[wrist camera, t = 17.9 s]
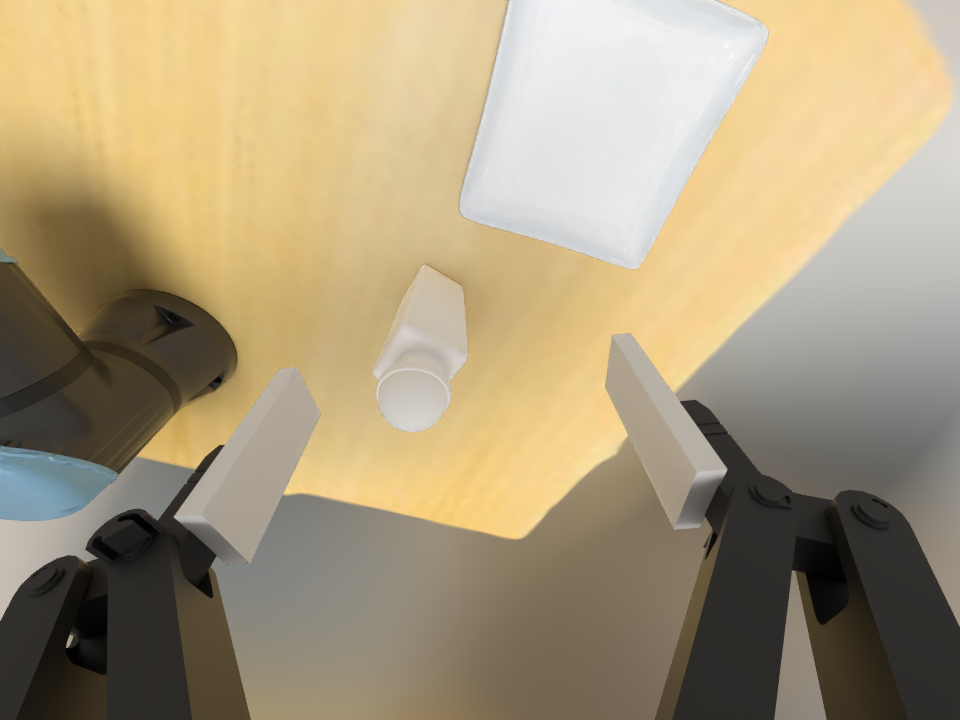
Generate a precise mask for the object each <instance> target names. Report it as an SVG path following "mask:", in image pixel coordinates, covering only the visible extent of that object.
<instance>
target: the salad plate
mask: <svg viewBox="0 0 960 720" xmlns="http://www.w3.org/2000/svg"><path fill="white" fill-rule="evenodd" d="M768 36H769V30H768V28H767V27H766V26H765V25H764V24H763V23H762V22H760V21H759V20H757V19H756V18H754V17H752V16H750V15H748V14H746V13H745V12H742V11H740V10H738V9H736V8H734V7H731V6H729V5H727V4H725V3H722V2H720V1H717V0H509V1H508V5H507V10H506V14H505V18H504V23H503V27H502V32H501V37H500V41H499V45H498V50H497V54H496V58H495V63H494V67H493V71H492V76H491V80H490V85H489V89H488V93H487V97H486V101H485V105H484V109H483V113H482V117H481V120H480V124H479V128H478V132H477V135H476V139H475V143H474V147H473V150H472V154H471V157H470V161H469V164H468V168H467V171H466V175H465V178H464V182H463V186H462V190H461V195H460V201H459V211H460V214H461V215H462V216H463V217H464V218H465V219H467V220H470V221H473V222H475V223H479V224H482V225H485V226H489V227H493V228H496V229H500V230H504V231H507V232H511V233H515V234H519V235H522V236H526V237H530V238H533V239H537V240H541V241H544V242H547V243H550V244H554V245H557V246H560V247H563V248H566V249H569V250H572V251H576V252H579V253H582V254H585V255H587V256H590V257H593V258H596V259H599V260H602V261H605V262H608V263H611V264H614V265H617V266H620V267H624V268H628V269H636V268H638V267H639V266H640V265H641V264H642V262H643V261H644V259H645V257H646V256H647V254H648V252H649V250H650V249H651V247H652V245H653V243H654V242H655V240H656V238H657V236H658V234H659V232H660V230H661V229H662V227H663V225H664V223H665V221H666V220H667V218H668V216H669V214H670V212H671V210H672V208H673V207H674V205H675V203H676V201H677V199H678V198H679V196H680V194H681V192H682V190H683V188H684V187H685V185H686V183H687V181H688V179H689V178H690V176H691V174H692V172H693V171H694V169H695V167H696V165H697V163H698V162H699V160H700V158H701V156H702V154H703V153H704V151H705V149H706V147H707V146H708V144H709V142H710V140H711V139H712V137H713V135H714V133H715V132H716V130H717V128H718V127H719V125H720V124H721V122H722V120H723V118H724V117H725V115H726V113H727V112H728V110H729V108H730V107H731V105H732V103H733V102H734V100H735V98H736V97H737V95H738V93H739V91H740V90H741V88H742V86H743V85H744V83H745V81H746V80H747V78H748V76H749V74H750V72H751V71H752V69H753V67H754V65H755V63H756V62H757V60H758V58H759V56H760V54H761V52H762V50H763V49H764V47H765V44H766V42H767V39H768Z"/></svg>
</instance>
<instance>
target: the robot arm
mask: <svg viewBox="0 0 960 720" xmlns="http://www.w3.org/2000/svg"><path fill="white" fill-rule="evenodd" d="M16 263H18V261H17V260H16V259H15V258H14V257H12V256H9V255H7V254H6V253H5V252H4V250H3V249H2V248H1V247H0V519H7V520H19V521H42V520H50V519H57V518H61V517H65V516H68V515H71V514H73V513H75V512H77V511H79V510H81V509H82V508H84V507H85V506H86V505H87V504H89V503H90V502H91V501H92V500H93V499H94V498H95V497H96V496H97V495H98V494H99V493H100V492H102V490H104V489H105V488H106V487H107V486H108V485H109V484H111V483H112V482H114V481H115V480H116V479H117V477H118V475H119V474H120V473H121V472H122V471H123V470H124V468H125V467H126V466H127V465H128V464H129V463H130V462H131V461H132V460H133V459H134V457H136V455H137V454H138V453H139V452H140V451H141V450H142V449H143V448H144V447H145V446H146V445H147V444H148V442H149V441H150V440H151V439H152V438H153V437H154V436H155V435H156V434H157V433H158V432H159V431H160V430H161V429H162V428H163V426H164V425H165V424H166V423H167V422H168V421H169V420H170V419H171V418H172V417H173V416H174V415H175V414H176V413H177V412H178V411H179V410H180V409H181V408H183V407H185V406H187V405H189V404H191V403H193V402H195V401H197V400H199V399H200V398H202V397H204V396H206V395H208V394H210V393H212V392H214V391H215V390H217V389H218V388H220V387H221V386H222V385H223V384H224V383H225V381H226V380H227V379H228V378H229V377H230V376H231V375H232V373H233V372H234V369H235V367H236V351H235V348H234V345H233V343H232V341H231V339H230V337H229V336H228V334H227V333H226V332H225V330H224V329H223V328H222V327H221V326H220V324H219V323H218V322H217V321H216V320H214V319H213V318H212V317H211V316H210V315H209V314H207V313H206V312H205V311H203V310H202V309H200V308H199V307H197V306H195V305H194V304H192V303H190V302H188V301H186V300H184V299H181V298H179V297H176V296H174V295H171V294H167V293H163V292H158V291H152V290H135V291H130V292H126V293H123V294H121V295H119V296H117V297H115V298H114V299H112V300H110V301H108V302H106V303H105V304H103V305H102V306H101V307H100V308H99V309H98V310H97V311H96V312H95V314H94V315H93V317H92V318H91V319H90V321H89V322H88V323H87V325H86V326H85V328H84V329H83V331H82V332H81V333H80V335H79V336H77V335H76V334H75V333H74V332H73V330H72V329H71V328H70V327H69V326H68V324H67V323H66V322H65V321H64V320H63V319H62V317H61V316H60V315H59V314H58V313H57V311H56V310H55V309H54V308H53V307H52V305H51V304H50V303H49V302H48V301H47V299H46V298H45V297H44V296H43V295H42V293H41V292H40V291H39V290H38V289H37V288H36V286H35V285H34V284H33V283H32V282H31V280H30V279H29V278H28V277H27V276H26V274H25V273H24V272H23V271H22V270H21V268H20V267H19V266H18V265H17V264H16ZM605 388H606V390H607V392H608V394H609V396H610V398H611V400H612V402H613V404H614V406H615V408H616V411H617V413H618V415H619V417H620V419H621V421H622V423H623V425H624V427H625V429H626V431H627V433H628V435H629V437H630V439H631V442H632V444H633V446H634V448H635V450H636V452H637V454H638V456H639V458H640V460H641V462H642V464H643V466H644V468H645V470H646V472H647V474H648V477H649V479H650V481H651V483H652V485H653V487H654V489H655V491H656V493H657V495H658V497H659V499H660V502H661V504H662V506H663V508H664V510H665V512H666V514H667V516H668V518H669V520H670V522H671V524H672V526H673V528H674V529H685V528H696V527H700V526H701V524H702V522H703V520H704V518H705V516H706V518H707V520H708V522H709V523H710V525H711V527H712V532H711V533H710V535H709V537H708V539H707V541H706V543H705V545H704V548H706V550H705V553H704V556H703V560H702V563H701V566H700V570H699V573H698V576H697V580H696V583H695V587H694V590H693V593H692V597H691V600H690V603H689V607H688V610H687V613H686V617H685V620H684V623H683V627H682V630H681V633H680V637H679V640H678V643H677V647H676V650H675V654H674V657H673V660H672V664H671V667H670V670H669V674H668V677H667V680H666V683H665V687H664V690H663V694H662V697H661V700H660V704H659V707H658V711H657V714H656V717H655V720H774V716H775V708H776V700H777V691H778V683H779V674H780V666H781V658H782V648H783V640H784V633H785V624H786V616H787V607H788V599H789V590H790V582H791V573H792V570H794V571H796V575H797V580H798V585H799V590H800V594H801V599H802V604H803V609H804V614H805V618H806V623H807V628H808V632H809V637H810V642H811V647H812V652H813V656H814V661H815V666H816V670H817V675H818V680H819V685H820V690H821V694H822V699H823V704H824V708H825V713H826V718H827V720H960V627H959V625H958V623H957V620H956V618H955V616H954V614H953V612H952V610H951V608H950V606H949V604H948V602H947V600H946V598H945V596H944V594H943V592H942V590H941V588H940V586H939V584H938V581H937V579H936V577H935V575H934V573H933V571H932V569H931V567H930V565H929V563H928V561H927V559H926V557H925V555H924V553H923V551H922V548H921V546H920V544H919V542H918V540H917V538H916V536H915V534H914V532H913V530H912V528H911V526H910V524H909V523H908V521H907V520H906V519H905V517H904V516H903V514H902V513H900V512H899V511H898V510H897V509H896V508H895V507H893V506H892V505H891V504H889V503H887V502H886V501H884V500H882V499H880V498H878V497H877V496H874V495H871V494H868V493H865V492H862V491H855V490H847V491H842V492H840V493H839V494H838V495H837V496H836V497H835V499H834V500H828V499H823V498H817V497H812V496H806V495H801V494H797V493H793V492H792V491H791V490H790V489H789V488H787V487H786V486H785V485H784V484H783V483H781V482H779V481H777V480H775V479H773V478H771V477H769V476H765V475H762V474H761V473H760V472H759V471H758V470H757V469H756V467H755V466H754V465H753V464H752V462H751V461H750V460H749V459H748V457H747V456H746V455H745V453H744V452H743V451H742V450H741V448H740V447H739V446H738V445H737V443H736V442H735V441H734V440H733V438H732V437H731V436H730V435H728V433H727V431H726V429H725V428H724V427H723V426H722V425H721V424H720V422H719V421H718V419H717V418H716V417H715V416H714V414H713V413H712V412H711V410H709V409H708V408H707V407H705V406H704V405H702V404H701V403H699V402H698V401H696V400H690V401H679V400H678V399H677V397H676V396H675V395H674V393H673V392H672V390H671V389H670V387H669V386H668V385H667V383H666V382H665V380H664V379H663V378H662V376H661V375H660V373H659V372H658V371H657V369H656V368H655V366H654V365H653V364H652V362H651V361H650V359H649V358H648V357H647V355H646V354H645V352H644V351H643V349H642V348H641V347H640V345H639V344H638V342H637V341H636V340H635V338H634V337H633V335H632V334H631V333H628V334H618V335H612V338H611V346H610V353H609V361H608V368H607V376H606V384H605ZM320 415H321V414H320V412H319V410H318V408H317V406H316V404H315V402H314V400H313V398H312V396H311V394H310V392H309V390H308V388H307V386H306V384H305V382H304V380H303V378H302V376H301V374H300V372H299V370H298V368H297V367H293V368H283V369H279V370H278V371H277V373H276V374H275V376H274V377H273V378H272V380H271V381H270V383H269V384H268V385H267V387H266V388H265V390H264V391H263V392H262V394H261V395H260V397H259V398H258V399H257V401H256V402H255V404H254V405H253V406H252V408H251V409H250V411H249V412H248V413H247V415H246V416H245V418H244V419H243V420H242V422H241V423H240V425H239V426H238V427H237V429H236V430H235V432H234V433H233V434H232V436H231V437H230V439H229V440H228V441H227V443H226V444H225V445H219V446H218V447H217V448H215V449H214V450H213V451H212V452H211V453H210V454H208V455H207V456H206V457H205V458H204V459H203V461H202V462H201V463H200V465H199V466H198V467H197V469H196V470H195V473H193V474H192V475H191V477H190V478H189V479H188V481H187V484H185V485H184V486H183V488H182V489H181V490H180V492H179V493H178V494H177V496H176V497H175V498H174V500H173V501H172V502H171V504H170V505H169V506H168V508H167V509H166V511H165V512H164V513H163V514H162V516H161V517H160V518H159V520H158V521H157V520H156V519H154V518H153V517H152V516H151V515H150V514H149V513H147V512H146V511H145V510H142V509H133V510H128V511H126V512H124V513H121V514H119V515H117V516H115V517H114V518H112V519H111V520H109V521H107V522H106V523H105V524H104V525H103V526H101V527H100V528H99V529H98V530H97V531H96V532H95V533H94V534H93V536H92V537H91V538H90V539H89V541H88V543H87V546H86V549H85V550H87V551H88V552H90V553H91V554H93V555H94V556H96V557H97V558H98V559H95V560H92V561H90V562H87V563H86V562H84V561H83V560H81V559H79V558H78V557H76V556H69V555H67V556H64V557H61V558H57V559H56V560H54V561H52V562H50V563H48V564H46V565H44V566H43V567H41V568H40V569H39V570H37V571H36V572H34V573H33V574H32V575H31V576H30V577H29V578H28V579H27V580H26V581H25V582H24V583H23V584H22V585H21V586H20V587H19V589H18V590H17V592H16V593H15V595H14V596H13V598H12V600H11V602H10V604H9V606H8V608H7V609H6V611H5V613H4V615H3V617H2V619H1V621H0V720H251V719H250V715H249V711H248V707H247V702H246V698H245V694H244V690H243V686H242V682H241V677H240V673H239V669H238V665H237V661H236V657H235V653H234V649H233V645H232V640H231V636H230V632H229V628H228V623H227V619H226V615H225V611H224V607H223V603H222V599H221V594H220V590H219V586H218V582H217V578H216V574H215V572H214V570H213V569H212V568H211V567H210V566H211V565H212V563H213V561H214V559H215V557H216V556H217V557H218V558H219V559H220V560H221V561H222V562H223V563H225V564H226V565H235V564H247V563H250V562H251V560H252V558H253V556H254V553H255V552H256V549H257V547H258V545H259V543H260V541H261V539H262V537H263V535H264V533H265V530H266V528H267V526H268V524H269V522H270V520H271V518H272V516H273V513H274V512H275V509H276V507H277V505H278V503H279V501H280V499H281V497H282V495H283V493H284V491H285V488H286V486H287V484H288V482H289V480H290V478H291V476H292V474H293V472H294V470H295V467H296V465H297V463H298V461H299V459H300V457H301V455H302V453H303V451H304V449H305V446H306V444H307V442H308V440H309V438H310V436H311V434H312V432H313V430H314V428H315V425H316V423H317V421H318V419H319V417H320ZM69 635H73V636H74V637H73V640H72V642H71V644H70V646H69V648H66V644H67V640H68V638H69Z"/></svg>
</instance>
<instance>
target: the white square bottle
mask: <svg viewBox="0 0 960 720" xmlns="http://www.w3.org/2000/svg"><path fill="white" fill-rule="evenodd" d="M467 358H468V347H467V333H466V319H465V305H464V290H463V286H461V285H460V284H458V283H456V282H455V281H453V280H451V279H449V278H448V277H446V276H444V275H443V274H441V273H439V272H438V271H436V270H434V269H433V268H431V267H429V266H428V265H426V264H423V265H422V266H421V268H420V270H419V271H418V273H417V275H416V277H415V278H414V280H413V282H412V283H411V285H410V287H409V289H408V290H407V292H406V294H405V295H404V297H403V299H402V302H401V304H400V306H399V309H398V311H397V314H396V316H395V318H394V321H393V323H392V326H391V328H390V330H389V333H388V335H387V337H386V340H385V342H384V345H383V347H382V349H381V352H380V354H379V356H378V358H377V361H376V363H375V366H374V368H373V370H372V374H373V376H374V377H375V378H376V379H378V382H377V388H376V397H377V400H378V405H379V409H380V412H381V414H382V416H383V417H384V419H385V420H386V421H387V422H388V423H389V424H390V425H392V426H393V427H395V428H396V429H399V430H401V431H405V432H419V431H423V430H426V429H428V428H430V427H431V426H433V425H434V424H435V423H437V422H438V420H439V419H440V418H441V417H442V415H443V413H444V412H445V411H446V409H447V408H448V406H449V403H450V399H451V393H452V391H451V385H450V383H449V382H450V380H451V379H452V378H453V377H454V375H455V374H456V373H457V372H458V371H459V369H460V368H461V367H462V366H463V364H464V363H465V362H466V360H467Z"/></svg>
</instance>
